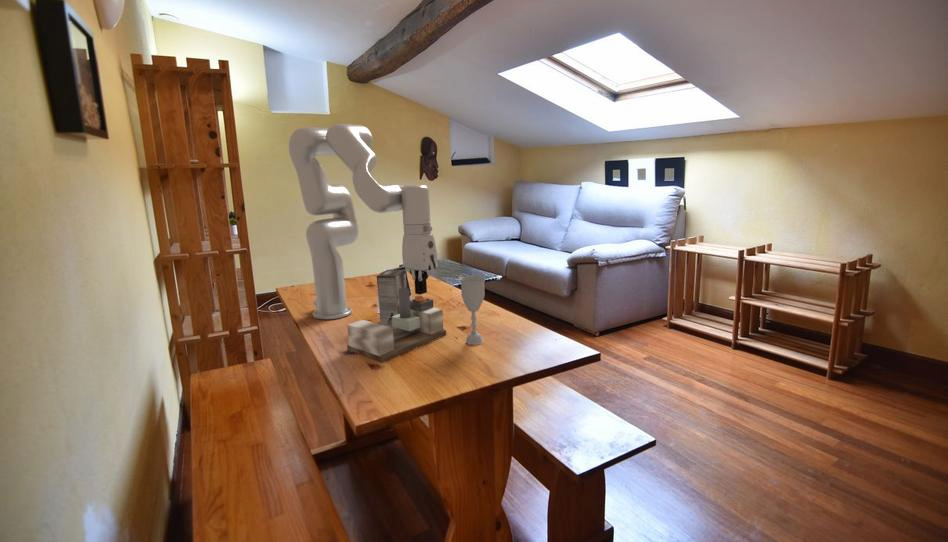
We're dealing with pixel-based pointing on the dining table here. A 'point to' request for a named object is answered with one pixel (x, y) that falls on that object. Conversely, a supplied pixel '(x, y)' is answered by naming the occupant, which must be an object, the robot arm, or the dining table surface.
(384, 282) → the coffee box
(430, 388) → the dining table surface
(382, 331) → the rail bed
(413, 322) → the carriage
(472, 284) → the chalice
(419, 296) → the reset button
